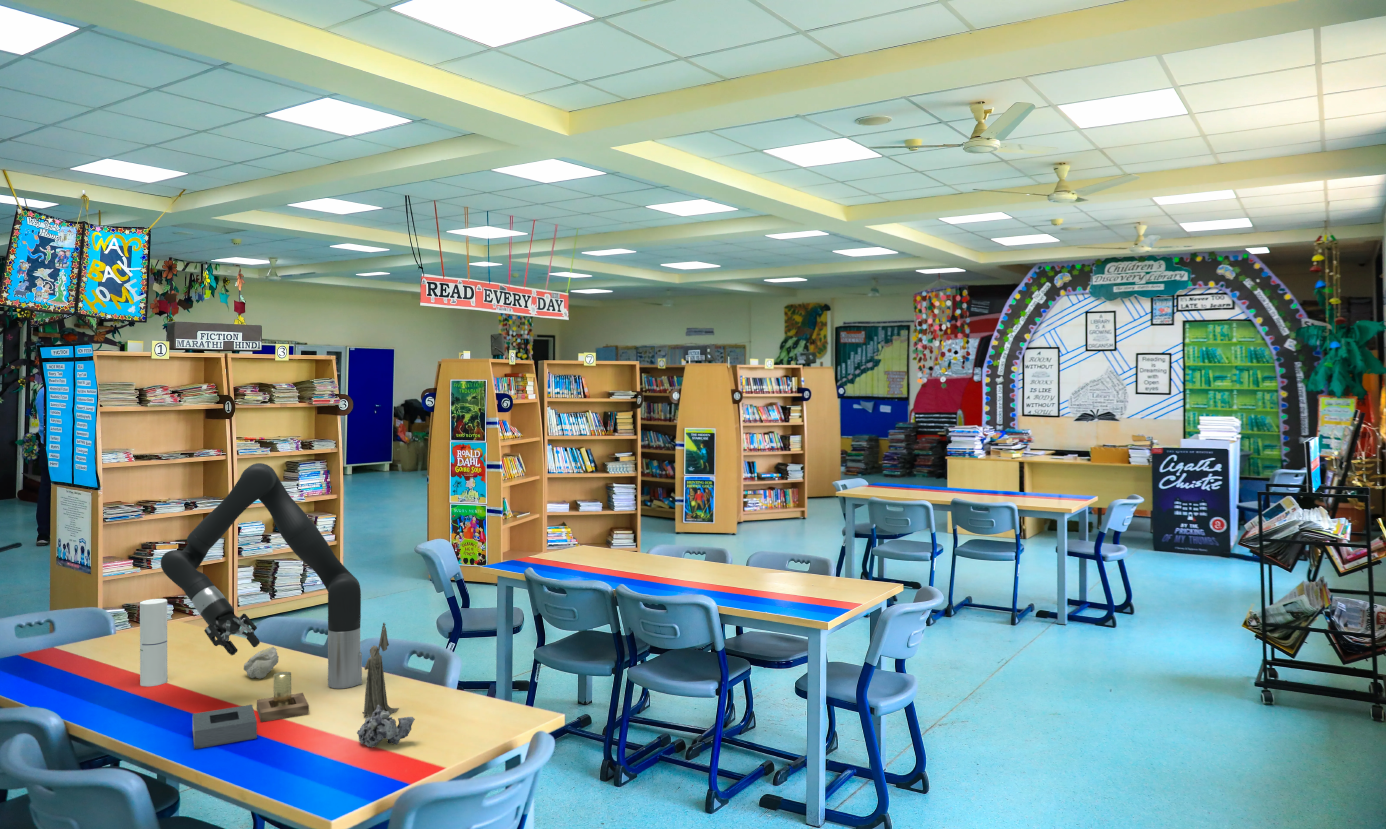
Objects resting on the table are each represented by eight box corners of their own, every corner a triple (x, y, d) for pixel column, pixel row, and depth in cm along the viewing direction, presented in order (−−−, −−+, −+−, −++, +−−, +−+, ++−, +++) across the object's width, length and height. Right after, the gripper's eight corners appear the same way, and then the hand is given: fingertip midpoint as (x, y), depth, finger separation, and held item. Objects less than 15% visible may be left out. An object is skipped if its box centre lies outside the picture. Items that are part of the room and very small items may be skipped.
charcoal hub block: (251, 721, 239) (251, 704, 239) (256, 738, 227) (256, 721, 227) (192, 730, 232) (192, 713, 232) (194, 749, 220) (194, 731, 220)
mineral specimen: (421, 726, 226) (396, 692, 225) (393, 752, 218) (367, 717, 217) (395, 739, 233) (371, 706, 233) (367, 764, 225) (342, 731, 224)
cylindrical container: (154, 687, 266) (154, 604, 266) (134, 685, 268) (134, 603, 267) (173, 679, 273) (172, 599, 273) (153, 678, 275) (152, 598, 274)
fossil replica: (245, 683, 271) (280, 680, 276) (248, 657, 270) (283, 654, 276) (240, 670, 281) (274, 667, 286) (242, 644, 280) (276, 642, 286)
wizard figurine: (383, 704, 253) (383, 617, 253) (403, 709, 249) (403, 621, 248) (352, 714, 245) (353, 625, 244) (372, 721, 240) (372, 629, 240)
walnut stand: (302, 701, 255) (302, 692, 255) (308, 714, 245) (308, 705, 245) (256, 708, 249) (256, 699, 249) (260, 722, 239) (260, 712, 239)
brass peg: (290, 707, 250) (290, 670, 250) (292, 712, 246) (292, 675, 246) (272, 710, 248) (272, 673, 247) (274, 715, 244) (274, 677, 244)
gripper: (201, 602, 245) (235, 647, 242) (239, 592, 258) (272, 634, 256) (185, 620, 246) (219, 665, 243) (223, 608, 260) (256, 650, 257)
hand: (246, 649), depth 250 cm, fingers open, 8 cm apart
